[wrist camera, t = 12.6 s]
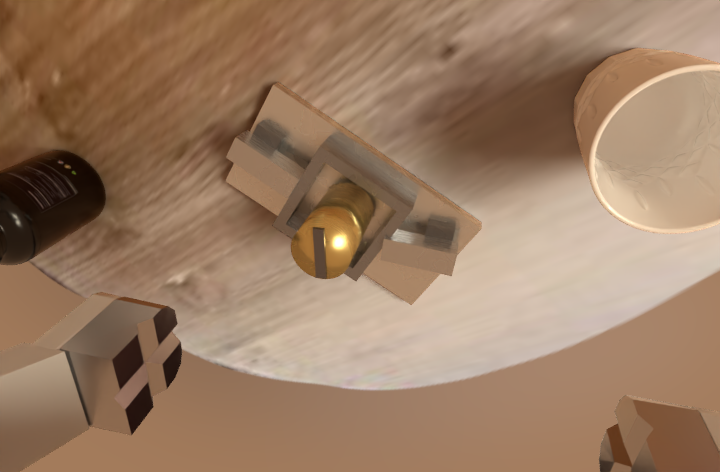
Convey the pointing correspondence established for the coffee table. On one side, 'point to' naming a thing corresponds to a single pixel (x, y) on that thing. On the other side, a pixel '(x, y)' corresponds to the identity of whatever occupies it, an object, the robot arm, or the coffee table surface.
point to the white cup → (653, 139)
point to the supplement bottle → (45, 203)
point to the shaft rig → (356, 166)
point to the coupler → (333, 231)
